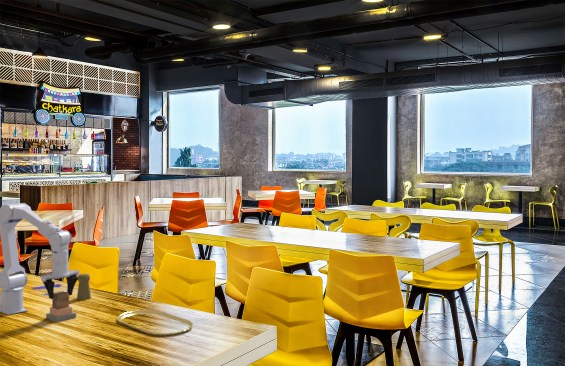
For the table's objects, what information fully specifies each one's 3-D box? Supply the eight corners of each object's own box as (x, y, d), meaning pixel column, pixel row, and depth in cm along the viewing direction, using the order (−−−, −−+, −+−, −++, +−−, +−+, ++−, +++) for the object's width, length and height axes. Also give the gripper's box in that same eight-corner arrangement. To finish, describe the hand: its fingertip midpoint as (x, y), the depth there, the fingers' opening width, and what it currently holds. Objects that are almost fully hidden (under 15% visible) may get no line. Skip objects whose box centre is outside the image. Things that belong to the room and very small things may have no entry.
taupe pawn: (86, 300, 237) (86, 275, 237) (73, 299, 238) (73, 275, 238) (93, 297, 243) (93, 273, 243) (81, 296, 244) (81, 272, 244)
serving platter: (149, 311, 223) (149, 307, 223) (203, 329, 200) (203, 325, 200) (107, 320, 209) (107, 316, 209) (160, 341, 186) (160, 336, 186)
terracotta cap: (49, 313, 210) (49, 307, 210) (64, 310, 215) (64, 304, 214) (57, 316, 206) (57, 310, 206) (72, 313, 211) (72, 307, 211)
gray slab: (46, 319, 210) (46, 313, 210) (65, 315, 216) (65, 309, 216) (56, 324, 205) (56, 317, 205) (75, 319, 211) (75, 313, 211)
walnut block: (52, 307, 210) (52, 293, 210) (63, 304, 214) (63, 291, 213) (57, 309, 207) (57, 295, 207) (68, 307, 211) (68, 293, 210)
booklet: (48, 299, 240) (48, 297, 240) (32, 289, 259) (32, 287, 259) (76, 295, 248) (76, 293, 248) (58, 285, 267) (58, 284, 267)
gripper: (47, 266, 202) (47, 301, 202) (83, 260, 213) (83, 294, 213) (38, 263, 206) (38, 298, 207) (73, 258, 217) (73, 291, 218)
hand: (60, 296), depth 210 cm, fingers open, 7 cm apart
